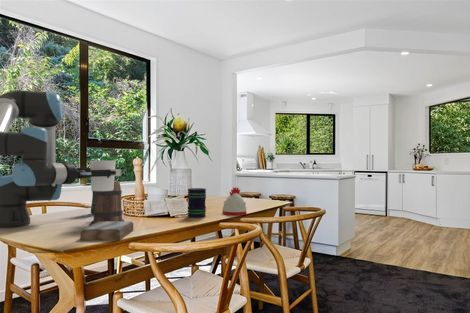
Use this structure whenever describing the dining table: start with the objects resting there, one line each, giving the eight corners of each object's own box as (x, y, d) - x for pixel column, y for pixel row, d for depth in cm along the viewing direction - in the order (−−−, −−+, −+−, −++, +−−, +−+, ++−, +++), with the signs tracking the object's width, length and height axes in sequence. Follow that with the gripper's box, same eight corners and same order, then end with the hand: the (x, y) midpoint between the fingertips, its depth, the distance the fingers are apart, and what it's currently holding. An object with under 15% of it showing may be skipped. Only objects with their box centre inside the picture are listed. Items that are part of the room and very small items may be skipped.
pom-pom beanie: (251, 213, 204) (251, 187, 204) (235, 216, 194) (235, 188, 194) (234, 210, 213) (234, 186, 213) (217, 213, 203) (217, 187, 203)
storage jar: (184, 217, 187) (184, 189, 187) (191, 214, 196) (191, 188, 197) (202, 218, 184) (202, 189, 185) (208, 215, 194) (208, 188, 194)
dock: (80, 239, 133) (80, 229, 133) (98, 230, 151) (98, 221, 151) (120, 240, 133) (120, 229, 133) (133, 230, 151) (133, 221, 151)
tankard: (132, 225, 164) (133, 182, 164) (96, 229, 152) (96, 183, 153) (112, 218, 181) (113, 180, 181) (78, 222, 170) (79, 181, 170)
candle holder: (106, 191, 135) (106, 160, 136) (84, 191, 137) (84, 160, 138) (120, 189, 145) (120, 160, 145) (98, 189, 147) (99, 160, 147)
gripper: (43, 183, 131) (94, 180, 151) (80, 185, 120) (130, 182, 140) (43, 163, 131) (94, 163, 151) (81, 163, 120) (130, 163, 140)
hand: (112, 172), depth 145 cm, fingers closed on candle holder, 9 cm apart
